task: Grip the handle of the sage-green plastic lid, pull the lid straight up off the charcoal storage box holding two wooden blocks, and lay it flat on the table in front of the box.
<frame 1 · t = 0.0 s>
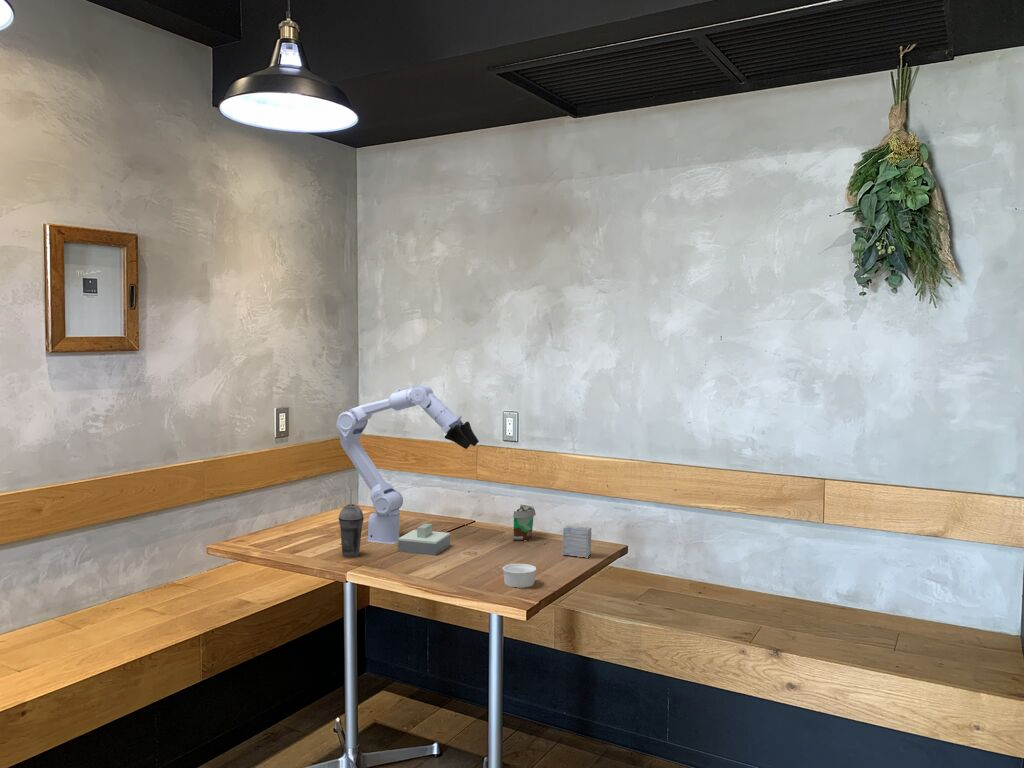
hand: (472, 445, 235), 32 cm above the table, tool tilted 50°, fingers open, 7 cm apart
storage box: (424, 550, 234), on the table
lid: (424, 538, 234), point 4 cm above the table, touching storage box
food container: (525, 539, 252), on the table
beverage cup: (350, 558, 224), on the table
medicine box: (576, 556, 232), on the table
wooden block A: (415, 549, 232), point 1 cm above the table, touching storage box
wooden block B: (433, 547, 235), point 1 cm above the table, touching storage box
ramekin: (519, 584, 203), on the table
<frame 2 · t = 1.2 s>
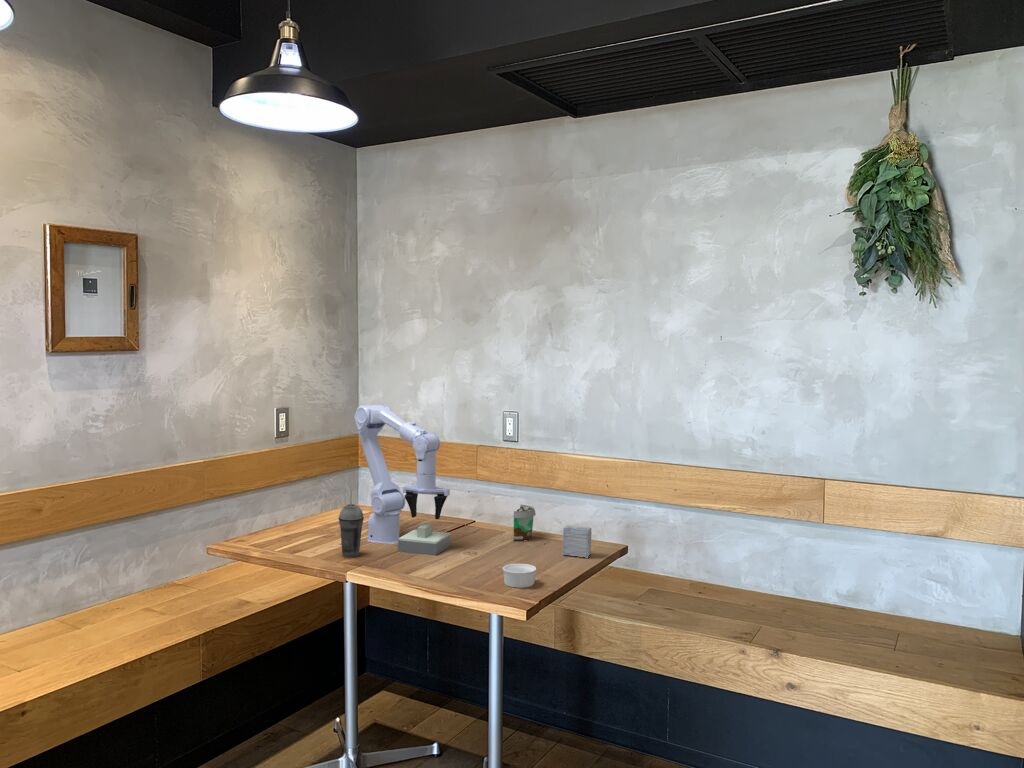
hand: (425, 517, 233), 10 cm above the table, tool pointing down, fingers open, 7 cm apart
nothing on the table moved.
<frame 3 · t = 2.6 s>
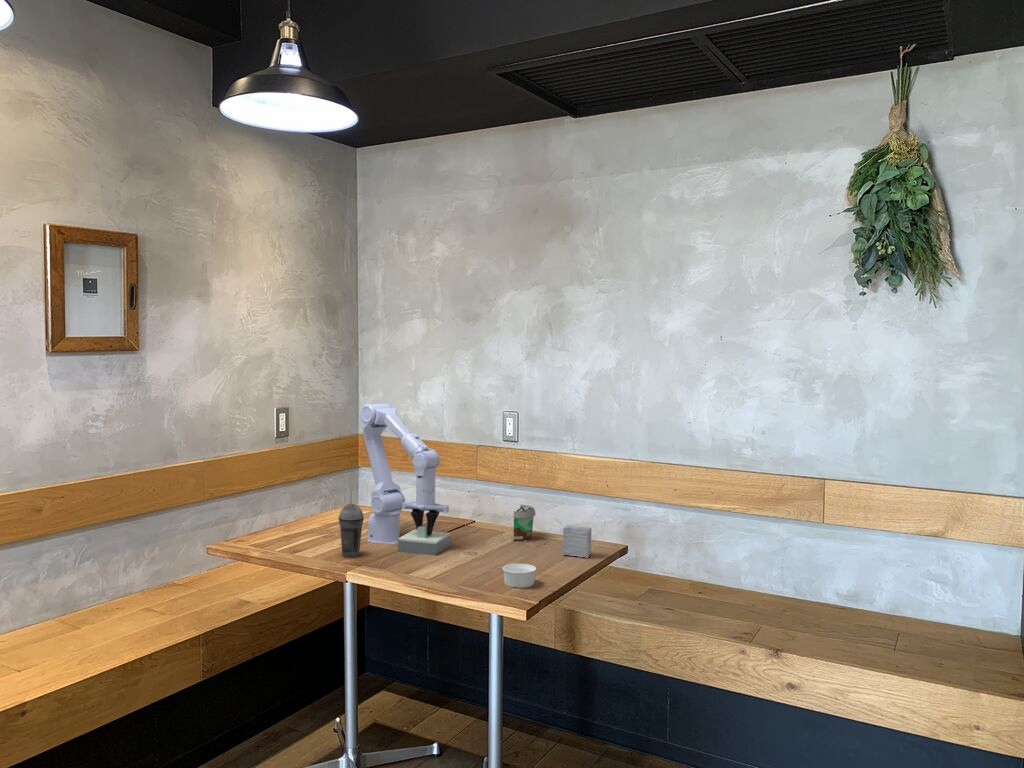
hand: (424, 534, 234), 5 cm above the table, tool pointing down, fingers closed on lid, 2 cm apart
lid: (424, 538, 234), point 4 cm above the table, touching gripper, storage box
everything else where it was.
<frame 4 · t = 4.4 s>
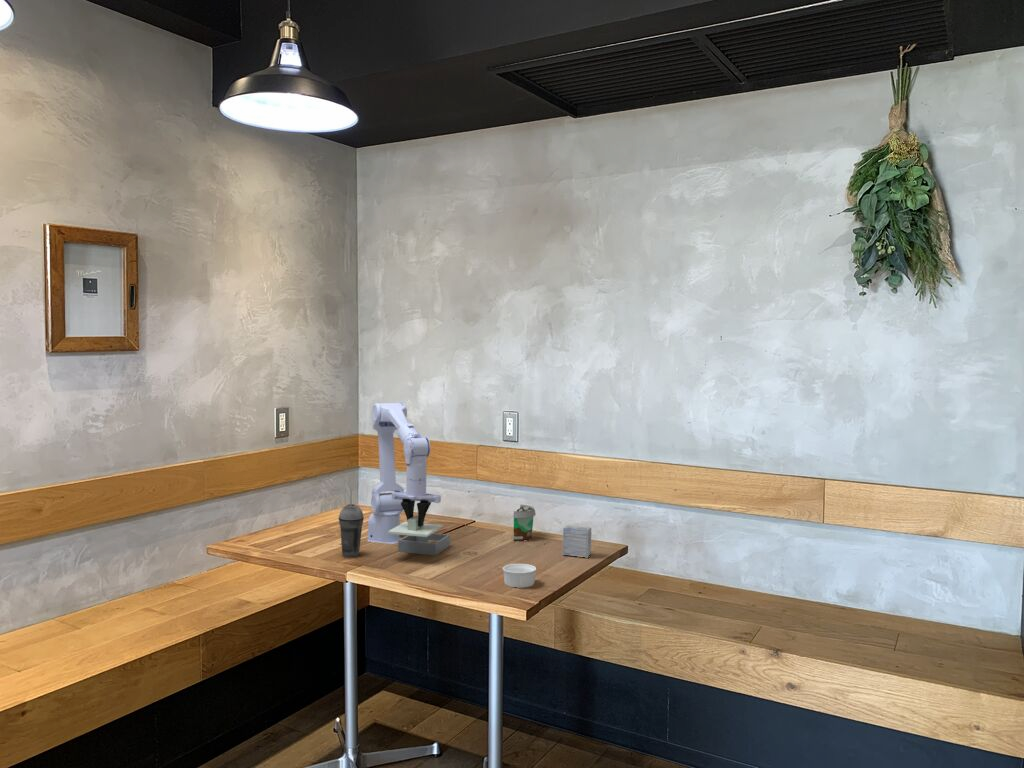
hand: (415, 525, 223), 10 cm above the table, tool pointing down, fingers closed on lid, 2 cm apart
lid: (415, 531, 223), point 8 cm above the table, touching gripper
everything else where it was.
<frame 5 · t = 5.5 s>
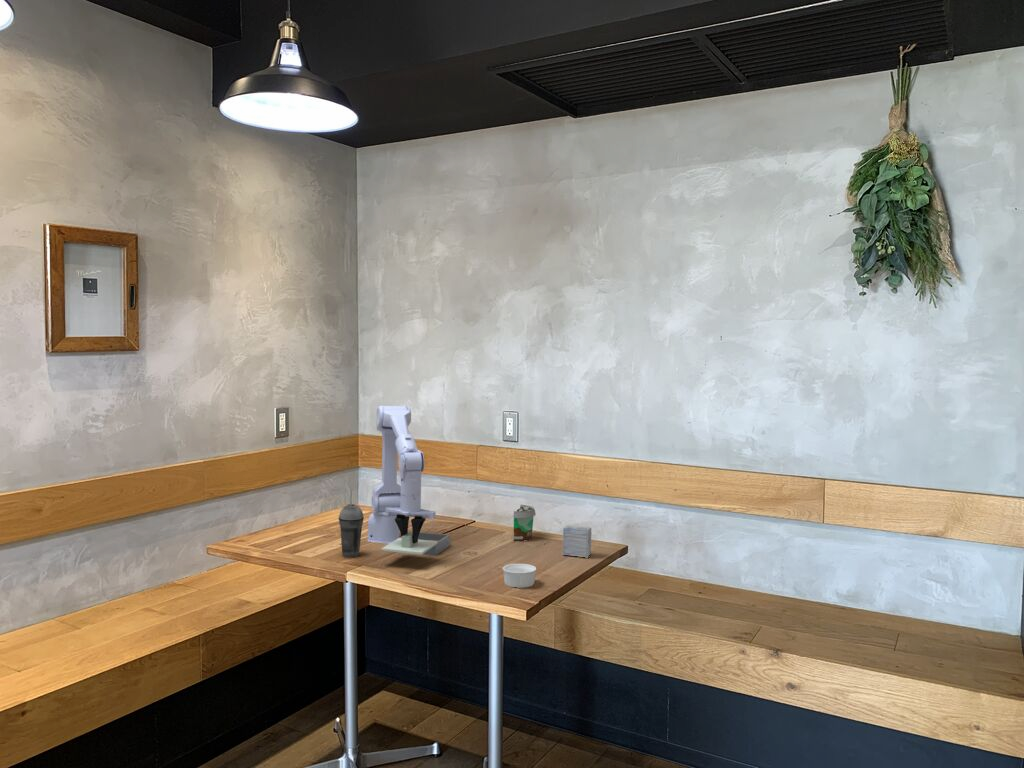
hand: (409, 542, 218), 7 cm above the table, tool pointing down, fingers closed on lid, 2 cm apart
lid: (409, 548, 218), point 5 cm above the table, touching gripper
everything else where it was.
when the fingers open (3 cm above the table, at t = 6.4 s): lid drops 1 cm, on the table.
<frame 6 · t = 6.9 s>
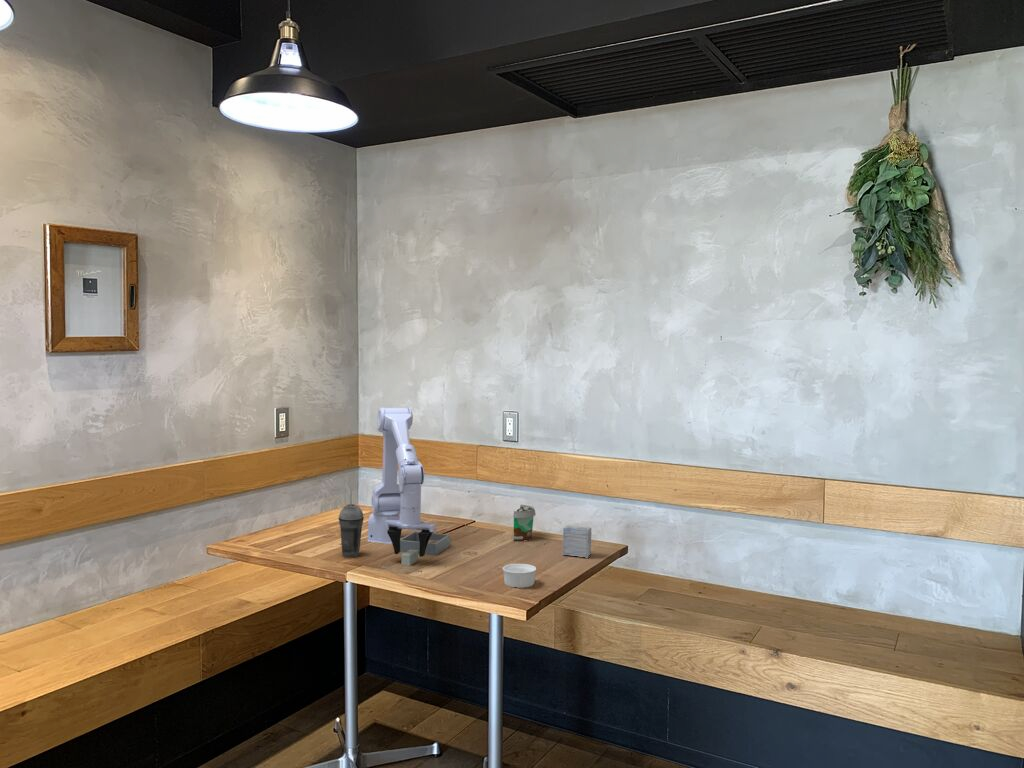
hand: (409, 554, 218), 3 cm above the table, tool pointing down, fingers open, 7 cm apart
lid: (409, 566, 218), on the table
everything else where it was.
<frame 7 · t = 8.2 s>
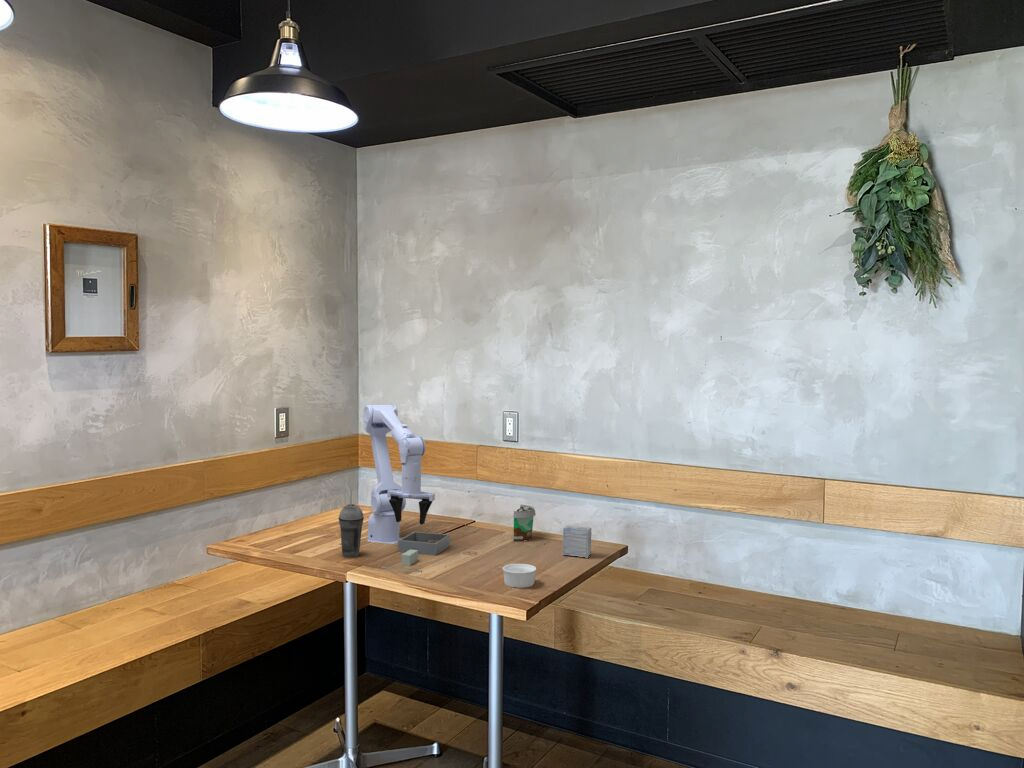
hand: (410, 522, 230), 9 cm above the table, tool pointing down, fingers open, 7 cm apart
nothing on the table moved.
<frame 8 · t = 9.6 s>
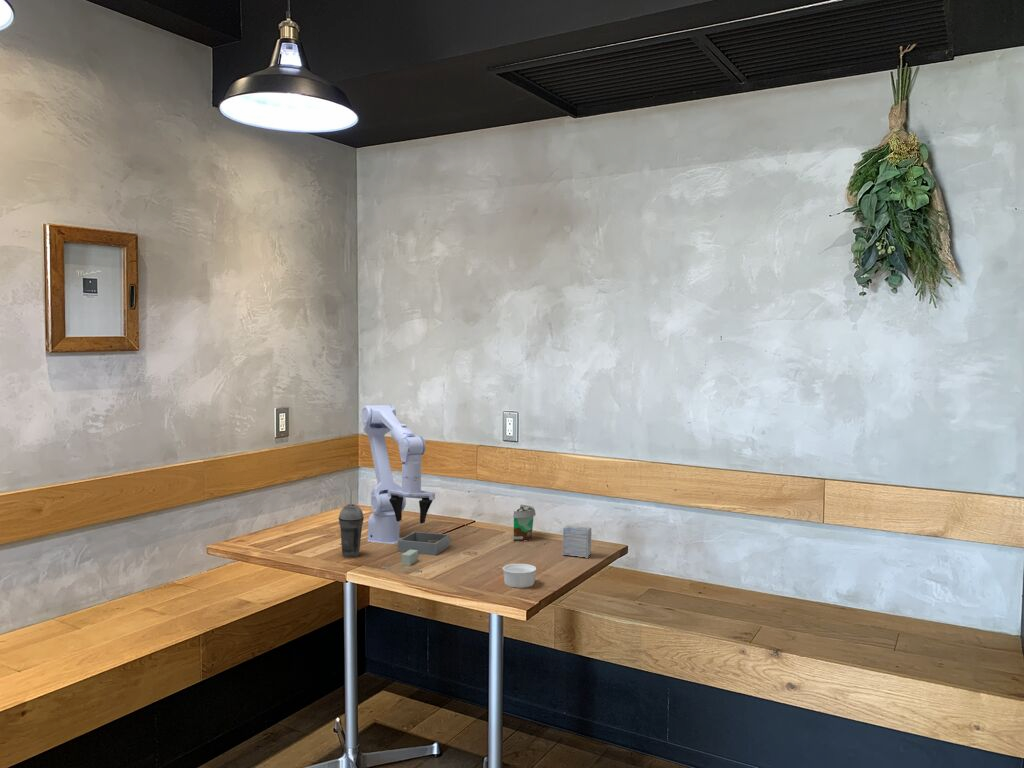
hand: (410, 521, 230), 9 cm above the table, tool pointing down, fingers open, 7 cm apart
nothing on the table moved.
at the end: lid inside the target area (0.2 cm from its centre), on the table; lid tilted 0°; lid touching table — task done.
